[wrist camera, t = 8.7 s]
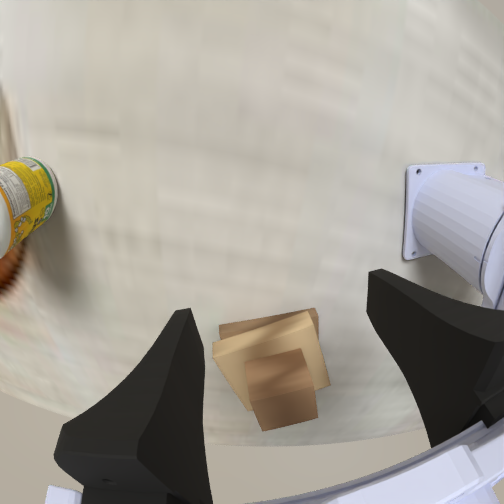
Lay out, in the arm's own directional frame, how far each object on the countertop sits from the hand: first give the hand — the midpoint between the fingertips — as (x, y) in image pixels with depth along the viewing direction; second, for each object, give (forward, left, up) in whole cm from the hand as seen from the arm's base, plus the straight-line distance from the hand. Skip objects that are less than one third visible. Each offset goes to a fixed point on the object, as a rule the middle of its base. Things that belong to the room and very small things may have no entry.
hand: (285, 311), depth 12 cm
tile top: (0, +12, -9) cm, 15 cm away
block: (0, +12, -8) cm, 14 cm away
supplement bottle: (+16, -6, -11) cm, 20 cm away
